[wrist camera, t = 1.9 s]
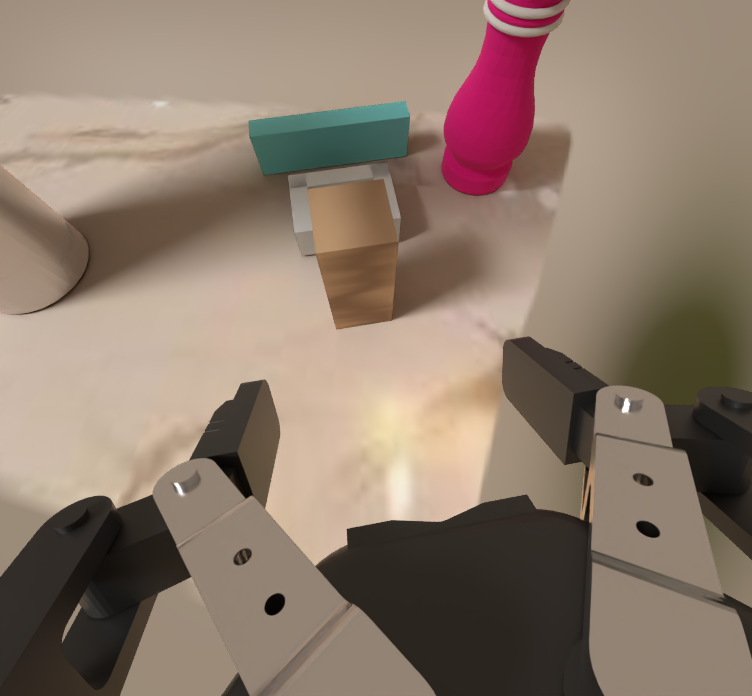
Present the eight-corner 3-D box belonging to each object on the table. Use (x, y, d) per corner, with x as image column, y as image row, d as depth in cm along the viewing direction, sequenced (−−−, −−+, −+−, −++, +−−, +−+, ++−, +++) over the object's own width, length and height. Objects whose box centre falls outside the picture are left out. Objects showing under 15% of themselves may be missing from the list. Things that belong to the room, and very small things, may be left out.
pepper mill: (444, 137, 36) (517, -245, 17) (516, 151, 35) (675, -232, 16) (429, 191, 33) (496, -186, 14) (506, 207, 32) (681, -168, 14)
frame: (302, 256, 30) (294, 233, 28) (295, 201, 32) (287, 175, 30) (398, 241, 31) (401, 217, 28) (386, 189, 33) (387, 162, 30)
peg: (336, 329, 28) (315, 253, 19) (329, 281, 30) (307, 189, 20) (391, 320, 28) (398, 241, 19) (381, 273, 30) (383, 178, 21)
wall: (263, 175, 34) (249, 137, 30) (262, 159, 35) (248, 120, 31) (406, 156, 35) (410, 116, 31) (402, 141, 35) (405, 101, 32)
